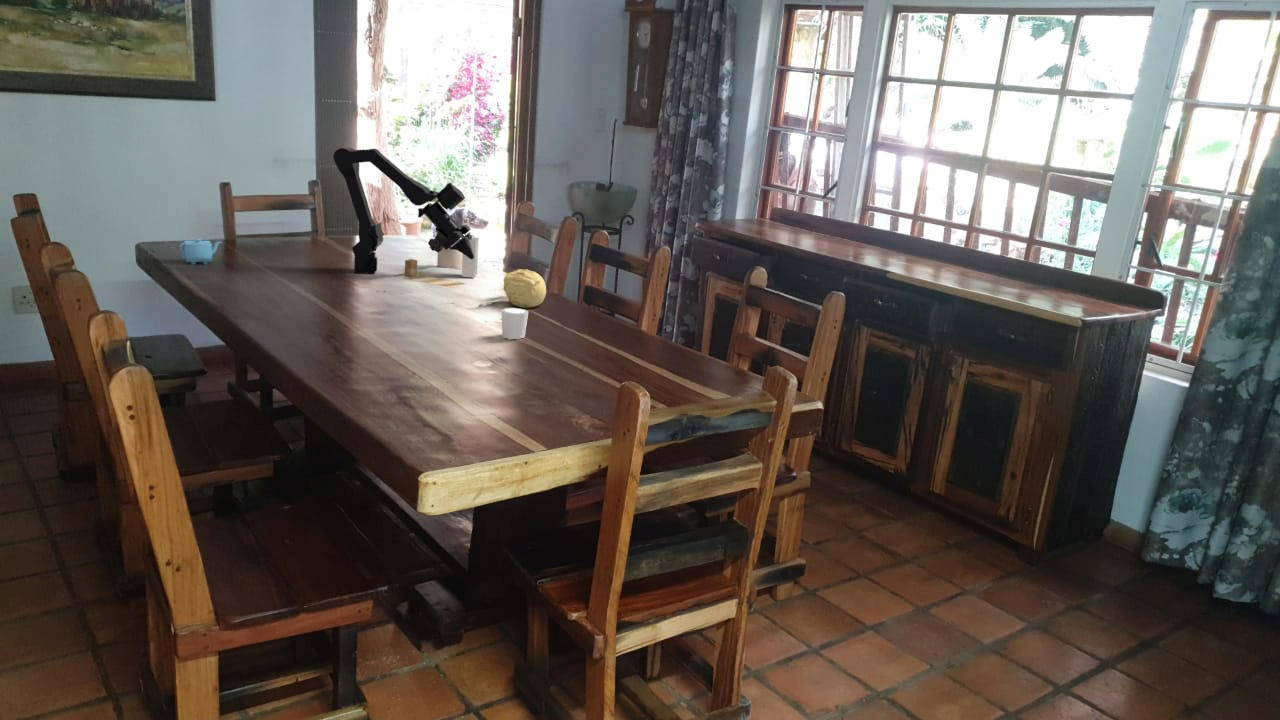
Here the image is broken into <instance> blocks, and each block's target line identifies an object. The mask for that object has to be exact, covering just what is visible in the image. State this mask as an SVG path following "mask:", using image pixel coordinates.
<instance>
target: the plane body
mask: <svg viewBox="0 0 1280 720" xmlns="http://www.w3.org/2000/svg"><path fill="white" fill-rule="evenodd" d="M396 277H397V278H401V279H406V280H410V281H411V280H412V281H417V282H421V283H426V284H431V285H436V286H437V285H438V286H442V287H448V288H452V289H453V288H457V287H462V286H465V285H468V283H467V282H460V281H456V280H450V279H445V278H441V277H436V276H435V277H434V276H430V275H425V274H418V260H417V259H414V258H413V259H412V258H409V259H406V260H404V274H402V275H398V276H396Z"/></svg>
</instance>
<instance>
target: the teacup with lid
mask: <svg viewBox="0 0 1280 720" xmlns="http://www.w3.org/2000/svg"><path fill="white" fill-rule="evenodd" d="M451 247H453V246H451ZM451 247H449V248H448V249H447V250H446V249H445V248H444V247H443V248H442V250H441V251H439V253H438V252H437V267H440V268H444V269H453V270H457V271H462V258H463V253H461V252H460V251H458V250H450V248H451Z"/></svg>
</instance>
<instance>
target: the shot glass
mask: <svg viewBox="0 0 1280 720" xmlns="http://www.w3.org/2000/svg"><path fill="white" fill-rule="evenodd" d="M500 312H501V331H502V333H501V335H502V338H503V337H504V338H503V339H505V338H508V339H507V340H510V339H521V338H524V337H525V335H526V330H527V329H526V328H527V323H528V317H529V310H527V309H525V308H524V309H523V308H522V307H518V308H517V307H505V308H502V309H501V310H500ZM524 339H525V338H524ZM521 340H522V339H521Z"/></svg>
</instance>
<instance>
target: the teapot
mask: <svg viewBox="0 0 1280 720" xmlns="http://www.w3.org/2000/svg"><path fill="white" fill-rule="evenodd" d="M220 244H222V241H216V242H215V243H214V245H213V244H212V243H211V241H210V240H202V239H201V238H195V239H194V240H184V241H183V243H181V244H180V245H179V250H180V251H181V252H182V254H181V256H182V258H184V259H185V261H186V263H190V265H196V264H197V263H202V264H203V265H209V263H212V262H213V255H214V254H216V252H217V250H218V246H219V245H220ZM183 246H184V249H183Z"/></svg>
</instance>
